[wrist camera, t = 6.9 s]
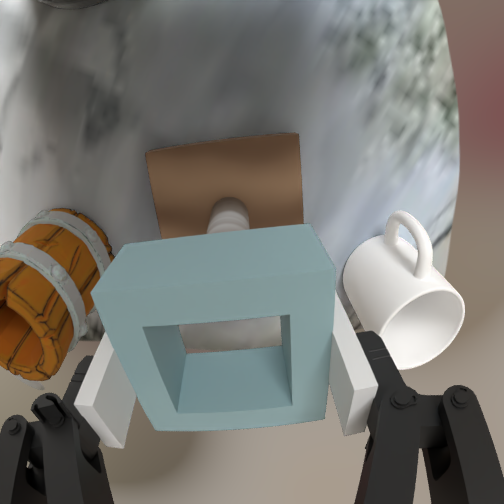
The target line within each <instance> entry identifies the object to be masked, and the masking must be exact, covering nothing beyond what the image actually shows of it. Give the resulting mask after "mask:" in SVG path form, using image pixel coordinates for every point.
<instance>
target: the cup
mask: <svg viewBox="0 0 504 504" xmlns="http://www.w3.org/2000/svg"><path fill="white" fill-rule="evenodd" d="M400 223H401V224H402V225H404V226H405V227H406V228H407V229H408V230H409V232H410V233H411V234H412V236H413V238H414V239H415V242H416V244H417V249H418V251H417V250H416V249H415V248H414V247H413V246H412V245H411V244H410V243H408V242H407V241H406V240H404V239H402V238H400V237H398V231H399V225H400ZM432 260H433V250H432V245H431V241H430V239H429V236H428V234H427V232H426V231H425V229H424V228H423V226H422V225H421V224H420V223H419V221H418V220H417V219H416V218H414V217H413V216H412V215H410V214H409V213H407V212H405V211H400V210H399V211H396V212H394V213H392V214H391V215H390V217H389V219H388V221H387V225H386V229H385V235H379V236H375V237H373V238H370V239H368V240H366V241H365V242H363V243H362V244H360V245H359V246H358V247H357V248H356V249H355V250H354V251H353V253H352V254H351V255H350V257H349V258H348V260H347V262H346V265H345V268H344V273H343V285H344V289H345V292H346V294H347V296H348V299H349V300H350V302H351V304H352V306H353V308H354V310H355V312H356V314H357V316H358V318H359V320H360V322H361V324H362V326H363V328H364V330H365V332H366V331H371V330H372V331H374V332H375V333H376V334H377V335H378V336H380V337H381V338H382V340H383V342H384V344H385V346H386V349H388V351H389V353H390V357H392V359H393V361H394V363H395V365H396V367H397V369H398V370H406V369H411V368H415V367H418V366H420V365H423V364H425V363H427V362H429V361H430V360H432V359H433V358H435V357H436V356H438V355H439V354H440V353H441V352H443V351H444V350H445V349H446V348H447V347H448V346H449V344H450V343H451V342H452V341H453V340H454V338H455V337H456V335H457V334H458V332H459V330H460V328H461V325H462V323H463V319H464V314H465V306H464V301H463V299H462V297H461V295H460V294H459V293H458V292H457V291H456V290H455V289H454V288H453V287H452V286H451V285H450V284H449V282H448V281H447V280H446V279H445V278H444V277H443V276H442V275H441V274H440V273H439V272H438V271H437V270H436V269H435V268H434V267H433V266H432Z"/></svg>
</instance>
